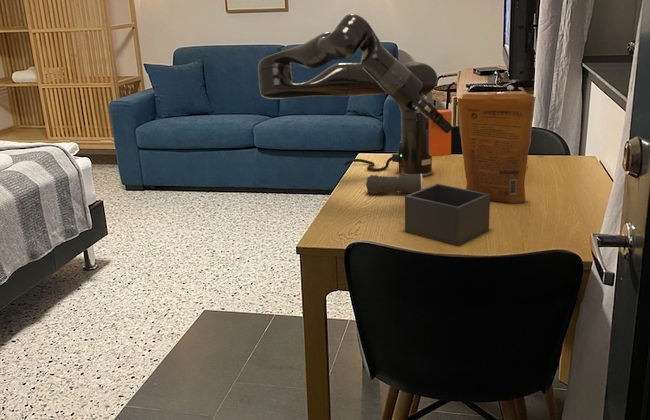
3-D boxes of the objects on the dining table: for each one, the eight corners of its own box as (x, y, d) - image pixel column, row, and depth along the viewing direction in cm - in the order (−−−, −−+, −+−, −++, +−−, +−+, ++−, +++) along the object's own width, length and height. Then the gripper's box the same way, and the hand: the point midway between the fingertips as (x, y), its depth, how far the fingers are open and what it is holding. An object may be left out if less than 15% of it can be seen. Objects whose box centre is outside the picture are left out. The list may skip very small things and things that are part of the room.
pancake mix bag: (526, 207, 166) (531, 96, 157) (454, 198, 176) (456, 92, 167) (533, 200, 171) (539, 91, 163) (463, 191, 181) (465, 89, 173)
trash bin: (404, 231, 154) (404, 196, 151) (436, 217, 162) (437, 183, 159) (458, 245, 144) (458, 208, 141) (489, 229, 152) (490, 194, 150)
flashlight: (366, 196, 181) (365, 177, 179) (367, 191, 186) (366, 172, 184) (422, 196, 179) (422, 176, 177) (422, 190, 184) (422, 171, 182)
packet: (431, 156, 164) (431, 112, 161) (428, 153, 167) (428, 110, 164) (451, 155, 165) (451, 111, 161) (448, 152, 167) (448, 109, 164)
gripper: (384, 89, 167) (431, 134, 171) (392, 98, 154) (444, 146, 158) (404, 67, 166) (452, 112, 170) (414, 73, 152) (466, 122, 157)
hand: (448, 128), depth 164 cm, fingers closed on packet, 3 cm apart
